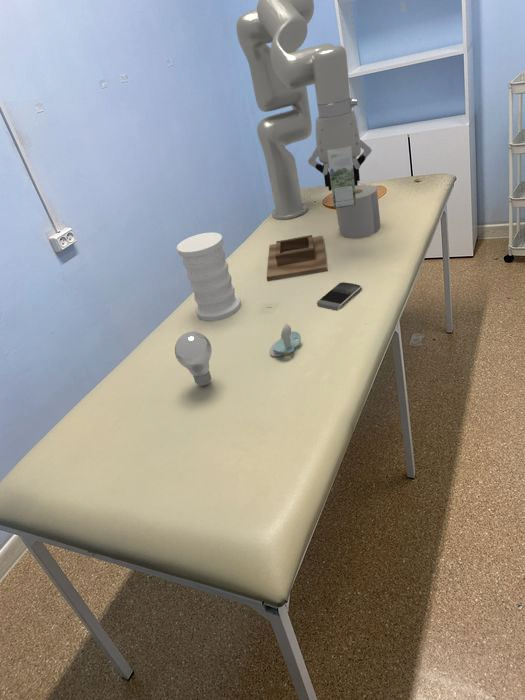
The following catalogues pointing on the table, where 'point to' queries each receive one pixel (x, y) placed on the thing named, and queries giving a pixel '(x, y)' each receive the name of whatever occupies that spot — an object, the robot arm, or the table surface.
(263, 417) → the table surface
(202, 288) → the decorative container
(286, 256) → the stand
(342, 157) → the syrup box
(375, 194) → the toilet paper roll
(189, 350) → the light bulb
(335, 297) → the cell phone
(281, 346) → the pacifier
